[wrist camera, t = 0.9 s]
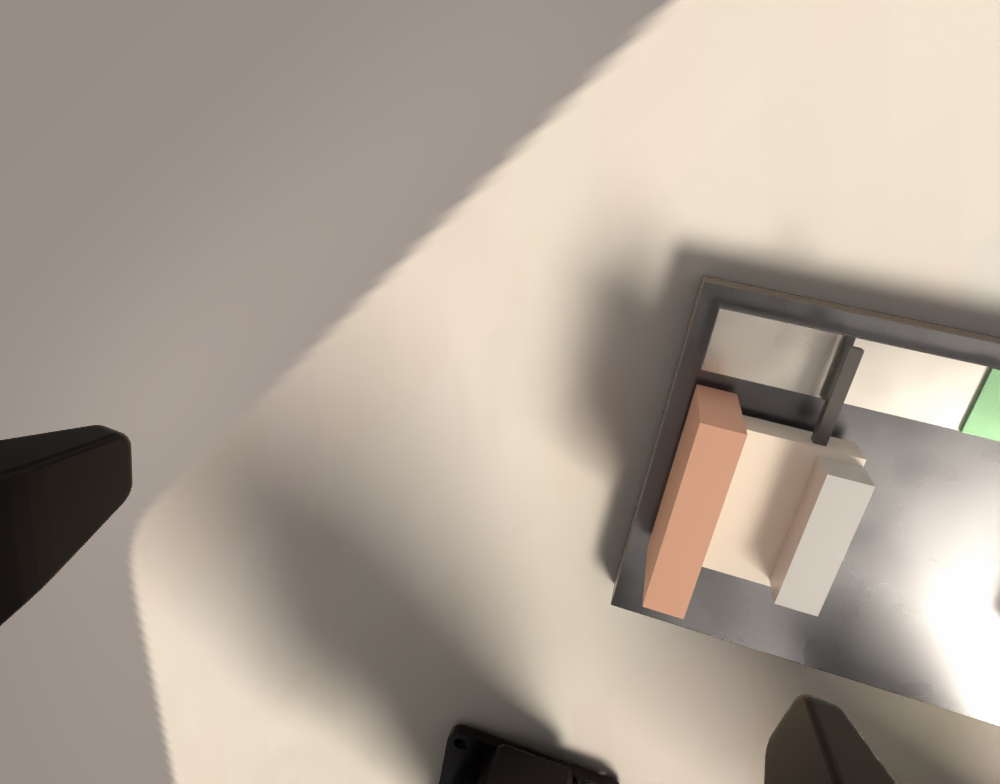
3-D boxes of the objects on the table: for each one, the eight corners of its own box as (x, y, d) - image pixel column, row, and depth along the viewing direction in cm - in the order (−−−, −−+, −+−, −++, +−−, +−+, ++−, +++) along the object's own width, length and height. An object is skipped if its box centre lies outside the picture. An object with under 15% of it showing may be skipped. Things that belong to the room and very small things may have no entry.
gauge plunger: (793, 589, 17) (813, 659, 15) (647, 546, 18) (642, 606, 15) (894, 350, 15) (936, 387, 12) (718, 312, 15) (726, 339, 13)
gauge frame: (1070, 724, 18) (1157, 846, 15) (614, 584, 20) (601, 663, 17) (1294, 399, 14) (1475, 466, 11) (703, 275, 16) (708, 300, 13)
